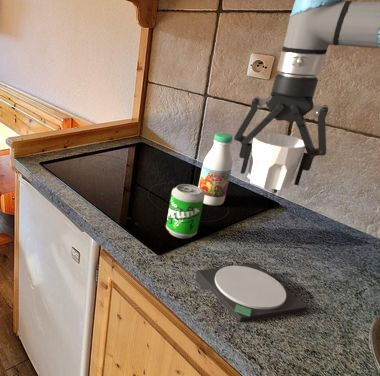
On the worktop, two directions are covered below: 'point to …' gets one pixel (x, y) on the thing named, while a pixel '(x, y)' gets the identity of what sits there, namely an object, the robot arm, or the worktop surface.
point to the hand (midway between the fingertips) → (269, 177)
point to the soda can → (185, 210)
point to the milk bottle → (216, 170)
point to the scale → (249, 292)
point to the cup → (274, 160)
